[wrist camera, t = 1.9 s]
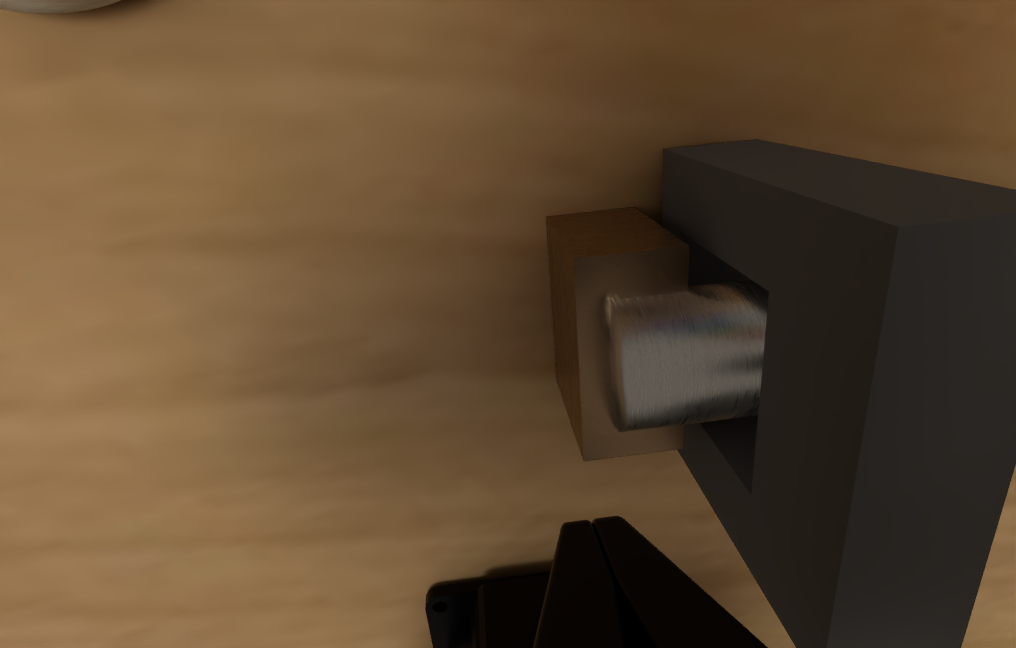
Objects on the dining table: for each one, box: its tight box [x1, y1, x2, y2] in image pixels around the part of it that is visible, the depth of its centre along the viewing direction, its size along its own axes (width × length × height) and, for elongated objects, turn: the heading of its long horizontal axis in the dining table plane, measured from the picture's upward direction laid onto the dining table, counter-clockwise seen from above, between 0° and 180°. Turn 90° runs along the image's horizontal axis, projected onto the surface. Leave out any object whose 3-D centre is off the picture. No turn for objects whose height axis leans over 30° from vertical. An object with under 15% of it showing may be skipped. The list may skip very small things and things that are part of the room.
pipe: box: [546, 207, 769, 461], centre depth 14 cm, size 18×5×6 cm, turn 95°
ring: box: [662, 139, 1016, 648], centre depth 12 cm, size 2×8×8 cm, turn 5°
